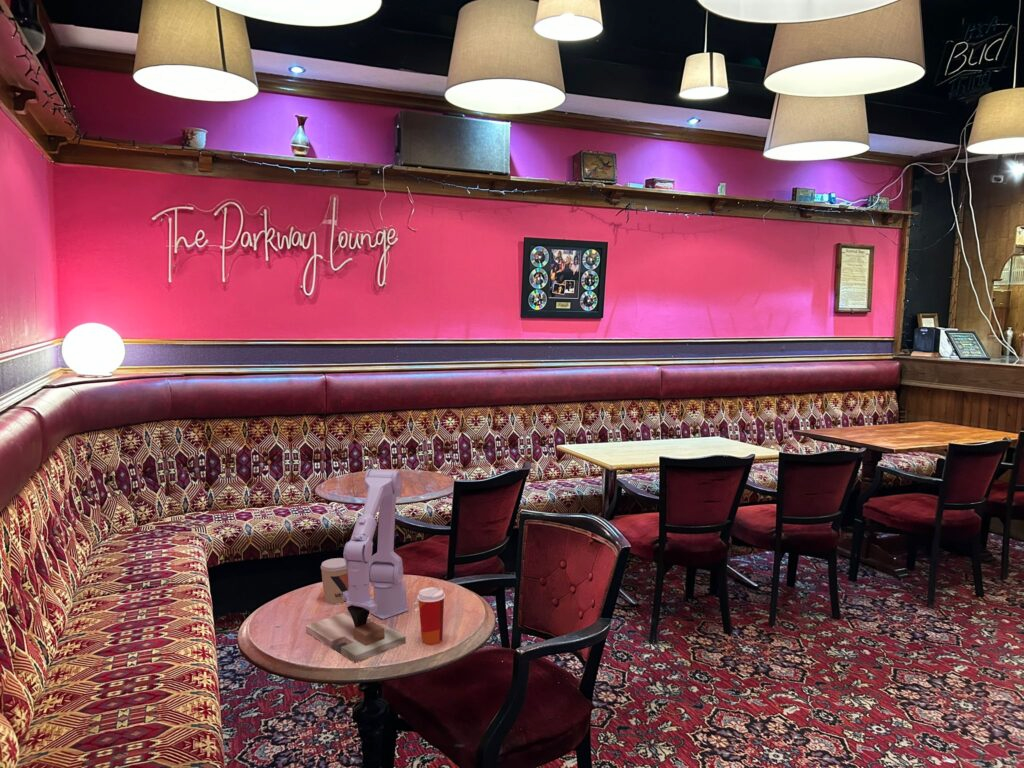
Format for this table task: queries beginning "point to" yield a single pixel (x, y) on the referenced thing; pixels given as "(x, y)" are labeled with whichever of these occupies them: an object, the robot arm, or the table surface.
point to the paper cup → (431, 615)
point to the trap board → (352, 637)
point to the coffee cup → (334, 580)
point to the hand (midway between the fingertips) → (360, 630)
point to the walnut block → (368, 633)
